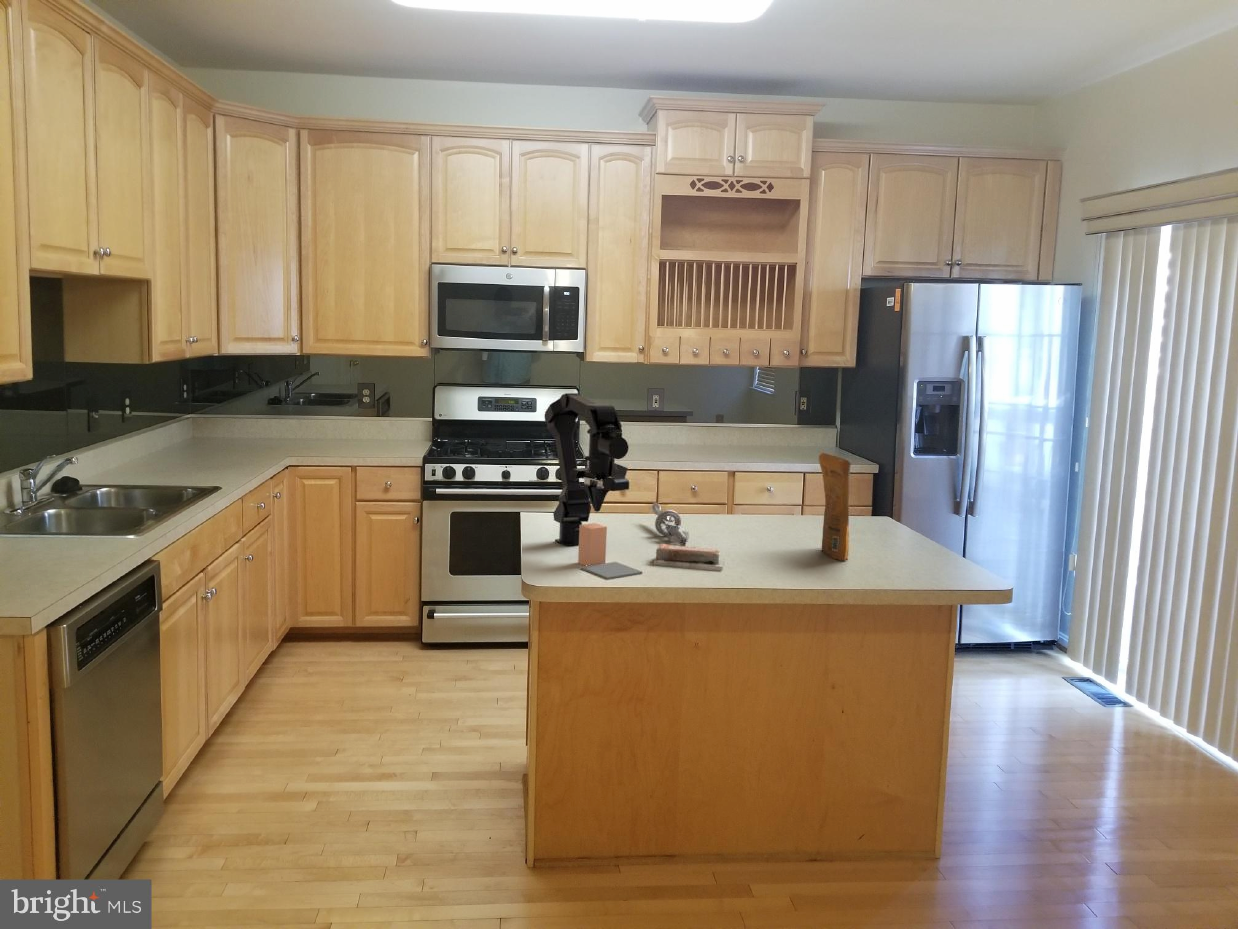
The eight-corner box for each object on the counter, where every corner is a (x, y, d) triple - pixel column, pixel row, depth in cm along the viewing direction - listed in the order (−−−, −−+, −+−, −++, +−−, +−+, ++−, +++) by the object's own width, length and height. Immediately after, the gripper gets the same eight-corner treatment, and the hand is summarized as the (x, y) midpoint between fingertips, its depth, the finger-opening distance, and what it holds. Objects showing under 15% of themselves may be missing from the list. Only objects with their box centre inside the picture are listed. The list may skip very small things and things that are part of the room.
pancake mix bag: (830, 562, 269) (839, 460, 265) (810, 545, 288) (817, 449, 283) (854, 563, 270) (863, 461, 265) (832, 546, 289) (840, 450, 284)
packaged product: (654, 548, 257) (658, 540, 267) (653, 567, 258) (658, 557, 268) (723, 554, 255) (726, 545, 264) (722, 573, 255) (725, 563, 265)
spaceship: (669, 497, 308) (647, 488, 306) (703, 535, 276) (678, 525, 273) (658, 520, 310) (635, 511, 307) (690, 560, 277) (666, 550, 274)
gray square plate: (581, 569, 251) (581, 567, 251) (615, 563, 258) (615, 561, 258) (607, 579, 243) (607, 577, 243) (642, 573, 249) (642, 571, 249)
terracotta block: (578, 562, 257) (579, 525, 256) (593, 560, 260) (595, 523, 259) (589, 567, 253) (591, 528, 252) (605, 564, 257) (606, 526, 255)
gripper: (646, 456, 258) (643, 515, 261) (601, 445, 272) (598, 501, 275) (613, 459, 251) (610, 519, 254) (568, 448, 265) (566, 505, 268)
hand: (597, 511), depth 263 cm, fingers closed
